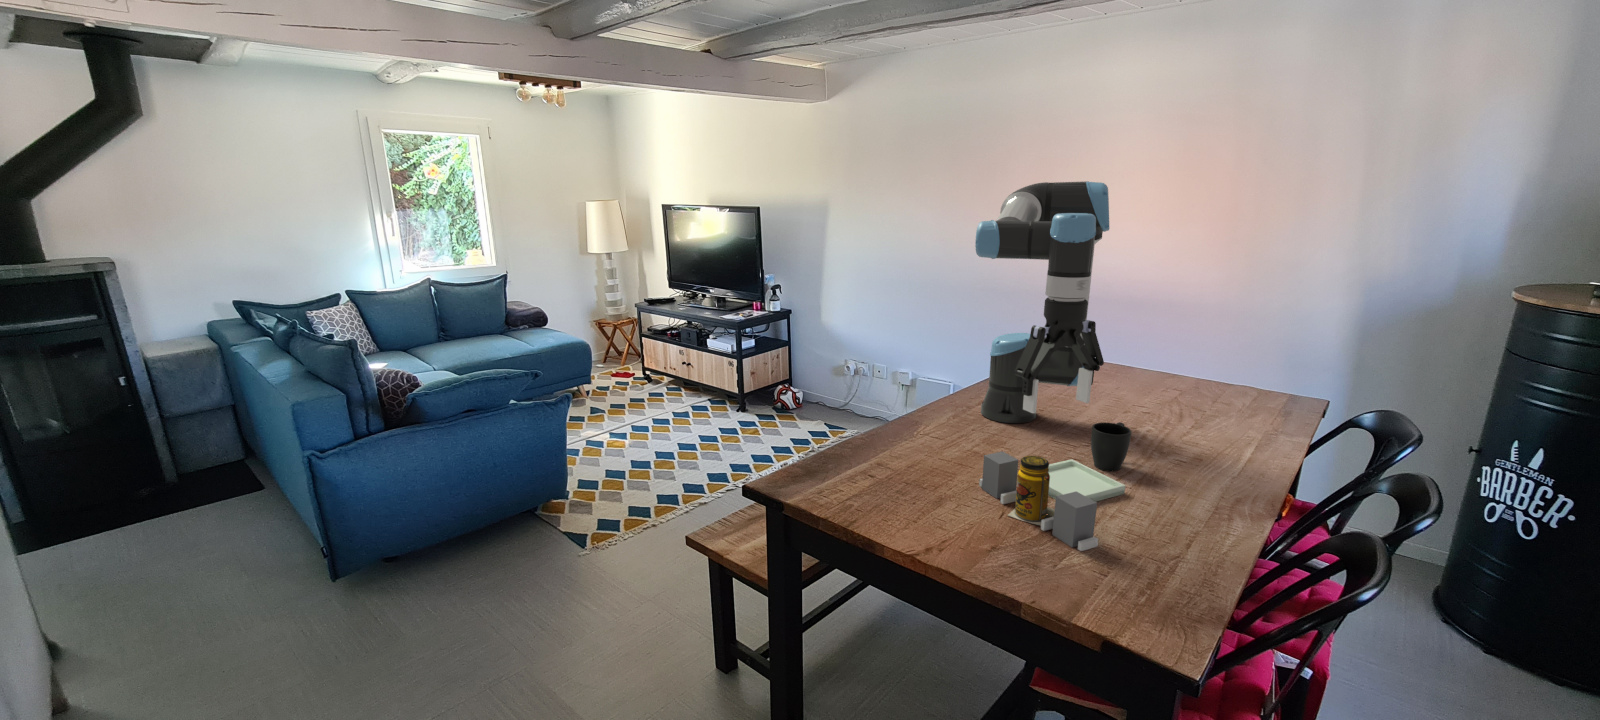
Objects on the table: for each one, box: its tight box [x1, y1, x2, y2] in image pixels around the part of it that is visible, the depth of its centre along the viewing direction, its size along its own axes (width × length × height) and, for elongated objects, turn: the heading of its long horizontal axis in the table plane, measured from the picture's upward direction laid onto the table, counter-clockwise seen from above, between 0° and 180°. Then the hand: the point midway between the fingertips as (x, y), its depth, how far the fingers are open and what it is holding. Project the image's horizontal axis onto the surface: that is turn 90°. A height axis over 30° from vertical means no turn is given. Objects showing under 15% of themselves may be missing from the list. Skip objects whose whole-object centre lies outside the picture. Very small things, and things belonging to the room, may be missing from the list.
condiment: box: [1007, 455, 1055, 527], centre depth 132 cm, size 7×8×12 cm
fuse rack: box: [978, 450, 1099, 552], centre depth 132 cm, size 29×6×8 cm, turn 23°
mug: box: [1090, 421, 1132, 472], centre depth 154 cm, size 8×12×10 cm
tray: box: [1048, 458, 1126, 502], centre depth 144 cm, size 15×15×2 cm
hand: (1056, 406), depth 128 cm, fingers open, 13 cm apart
